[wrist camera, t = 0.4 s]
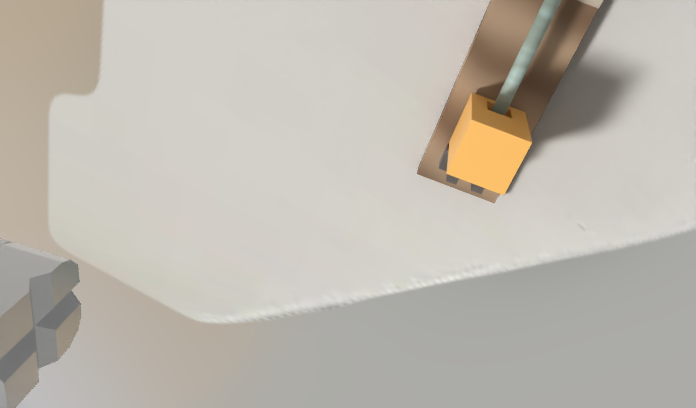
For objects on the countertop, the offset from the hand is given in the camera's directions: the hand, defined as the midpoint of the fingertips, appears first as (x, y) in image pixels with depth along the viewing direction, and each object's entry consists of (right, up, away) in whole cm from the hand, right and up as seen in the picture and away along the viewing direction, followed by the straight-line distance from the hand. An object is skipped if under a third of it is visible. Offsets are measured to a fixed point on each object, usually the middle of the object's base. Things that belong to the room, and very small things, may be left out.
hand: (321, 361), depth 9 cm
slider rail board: (+15, +15, +41) cm, 46 cm away
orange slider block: (+13, +9, +43) cm, 45 cm away
